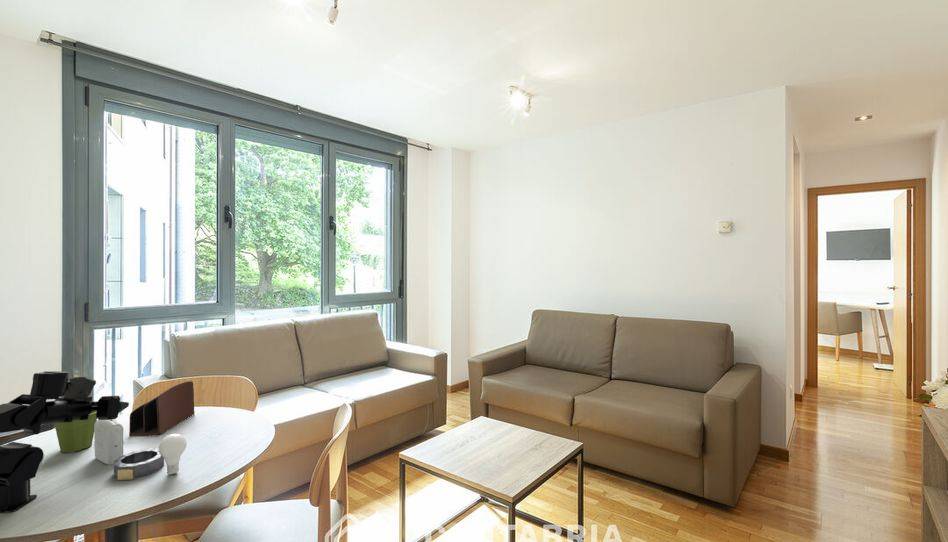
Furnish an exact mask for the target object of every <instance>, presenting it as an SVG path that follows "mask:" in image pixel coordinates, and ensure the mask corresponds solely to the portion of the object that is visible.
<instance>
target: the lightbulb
mask: <svg viewBox="0 0 948 542" xmlns="http://www.w3.org/2000/svg"><path fill="white" fill-rule="evenodd" d="M158 444H159V445H158V448H157V449H158V450H159V453H160V455H161V456H162V457H163V458H164V463H165V464H166V471H167V473H166V474H168V475H176V474H177V473H178V472H179V471H180V468H179V467H180V466H179V465H180V461H181V457H182V455H183V453H184V452H185V450H186V448H187V439H186V437H185V436H184V435H183V434H180V433H170V434H168V435H166V436H164V437H163V438H162V439H161V440H160V441H159V443H158Z"/></svg>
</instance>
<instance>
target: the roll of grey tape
mask: <svg viewBox="0 0 948 542" xmlns="http://www.w3.org/2000/svg"><path fill="white" fill-rule="evenodd" d="M164 466H165V459H164V458H163V457H162V456H161V455H160V453H159V450H158V448H144V449H138V450H135V451H134V450H133V451H131V452H128V453H125V454H123V456H120V457H119V458H118V459H116V460H115V461H114V464H113V478H114V479H117V481H127V480H135V479H139V478H143V477H147V476H149V475H152V474H154V473H157V472H158V471H160V470H161V469H162V468H163V467H164Z"/></svg>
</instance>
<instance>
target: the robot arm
mask: <svg viewBox="0 0 948 542" xmlns="http://www.w3.org/2000/svg"><path fill="white" fill-rule="evenodd" d="M69 377H70V371H60V370H59V371H57V370H54V371H53V370H51V371H45V370H44V371H43V372H35V373H33V376H32V384H31V388H30V392H29V394H26V393H22V394H20V395H18V396H17V397H16V398H14V399H12V400H10V401H9V402H7V403H5V402H4V403H1V404H0V434H1V433H9V432H17V431H20V430H23V432H24V433H25V434H30V435H39V434H40V431H41V427H42V426H47V425H54V424H53V423H60V422H72V421H74V420H88V416H89V414H90V413H91V411H93V410H97V413H96V418H97V420H112V419H116V420H117V418H118V417H119V413H121V412H122V411H124V410H125V409H127V408H128V407H129V405H130V402H128V401H121V397H120V395H104V396H103V395H102V396H101V397H100V398H99V399H98V400H97V401H93V396H90V395H91V394H92V391H93V389H94V387H95V385H97V381H96V379H95V380H94V379H92V378H89V377H86V376H77V377H76V376H74V377H73V378H69ZM44 456H45V455H44V451H43V449H42V448H41V447H38V446H33V444H30V443H23V442H22V443H21V442H16V441H11V442H9V443H6V444H0V513H5V512H4V511H11V512H15V511H14V510H16V511H17V510H19V509H20V507H21V508H22V507H23V505H24V506H25V505H27V504H28V503H30V502H32V501H33V500H34V499H37V497H38V495H37V494H31V479H35V477H36V475H37V472H38V470H39V467H40V464H41V463H42V461H43V460H44ZM26 503H27V504H26ZM18 508H19V509H18Z"/></svg>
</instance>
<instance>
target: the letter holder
mask: <svg viewBox="0 0 948 542" xmlns="http://www.w3.org/2000/svg"><path fill="white" fill-rule="evenodd" d="M194 388H195V387H194V382H193V381H192V380H188V381H184V382H182V383H179V384H176V385H174V386H172V387H170V388H168V389H167V390H165V391H163V392H162V393H161V394H159V395H157V396H156V397H154V398H152V399H151V400H149V401H147V402H145V403H143V404H141V405H139V406H138V407H137V408H135V409H134V410H132V411H131V412H130V414H129V425H128V427H129V429H128V430H129V432H128V433H129V434H128V436H129V437H143V436H144V437H147V436H148V437H153V436H152V435H160V436H161V435H163V434H164V433H166V432H167V430H168V431H169V430H171V429H172V428H174V427H176V426H178V425H179V423H180V422H181V423H183V422H185V421H186V420H187V418H188V417H190V416H191V417H193V416H194V415H195V413H196V412H195V392H194V391H195V390H194ZM193 414H194V415H193ZM192 415H193V416H192ZM191 417H190V418H191ZM185 419H186V420H185ZM188 419H189V418H188ZM184 420H185V421H184ZM182 421H183V422H182ZM181 423H180V424H181ZM177 424H178V425H177ZM162 433H163V434H162ZM149 435H151V436H149Z"/></svg>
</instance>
